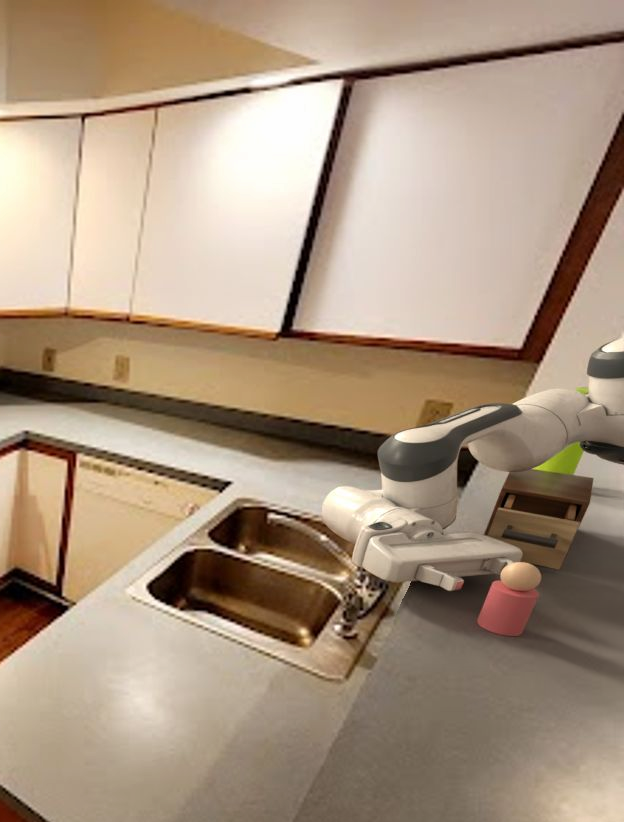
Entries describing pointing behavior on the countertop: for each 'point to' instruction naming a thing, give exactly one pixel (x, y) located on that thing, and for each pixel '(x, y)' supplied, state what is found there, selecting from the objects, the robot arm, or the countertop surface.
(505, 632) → the doll
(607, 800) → the countertop surface
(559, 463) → the soap dispenser
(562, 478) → the cabinet
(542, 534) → the drawer
